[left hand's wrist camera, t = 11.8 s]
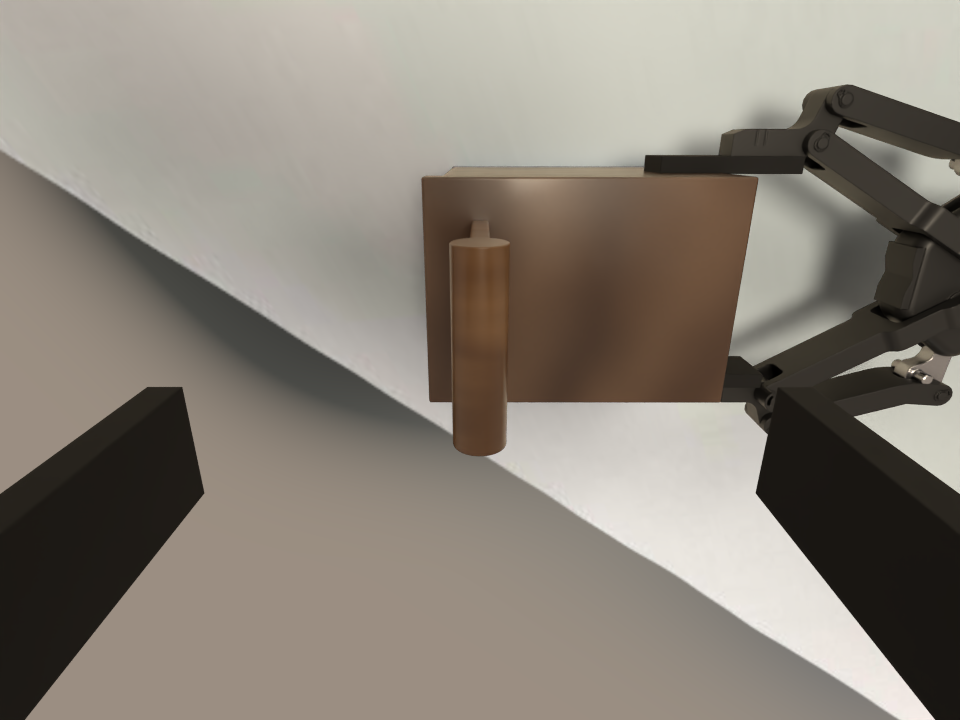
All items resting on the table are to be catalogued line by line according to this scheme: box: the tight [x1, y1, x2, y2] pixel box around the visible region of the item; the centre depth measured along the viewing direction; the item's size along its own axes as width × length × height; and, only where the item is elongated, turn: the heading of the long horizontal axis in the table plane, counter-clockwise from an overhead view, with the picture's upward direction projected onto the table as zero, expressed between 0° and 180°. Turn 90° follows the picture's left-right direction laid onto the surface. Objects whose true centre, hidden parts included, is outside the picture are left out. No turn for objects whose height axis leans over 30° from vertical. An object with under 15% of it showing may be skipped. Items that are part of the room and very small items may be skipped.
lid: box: [422, 176, 758, 456], centre depth 21 cm, size 14×10×9 cm
